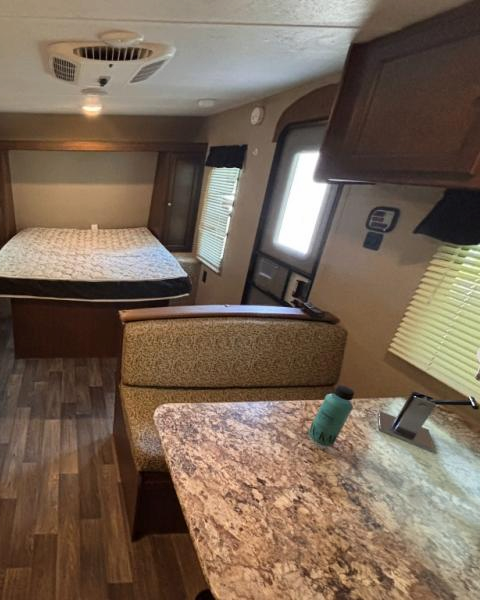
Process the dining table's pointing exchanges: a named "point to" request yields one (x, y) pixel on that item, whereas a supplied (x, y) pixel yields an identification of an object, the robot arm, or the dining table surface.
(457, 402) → the lever
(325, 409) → the beverage bottle
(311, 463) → the dining table surface
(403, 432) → the bracket
